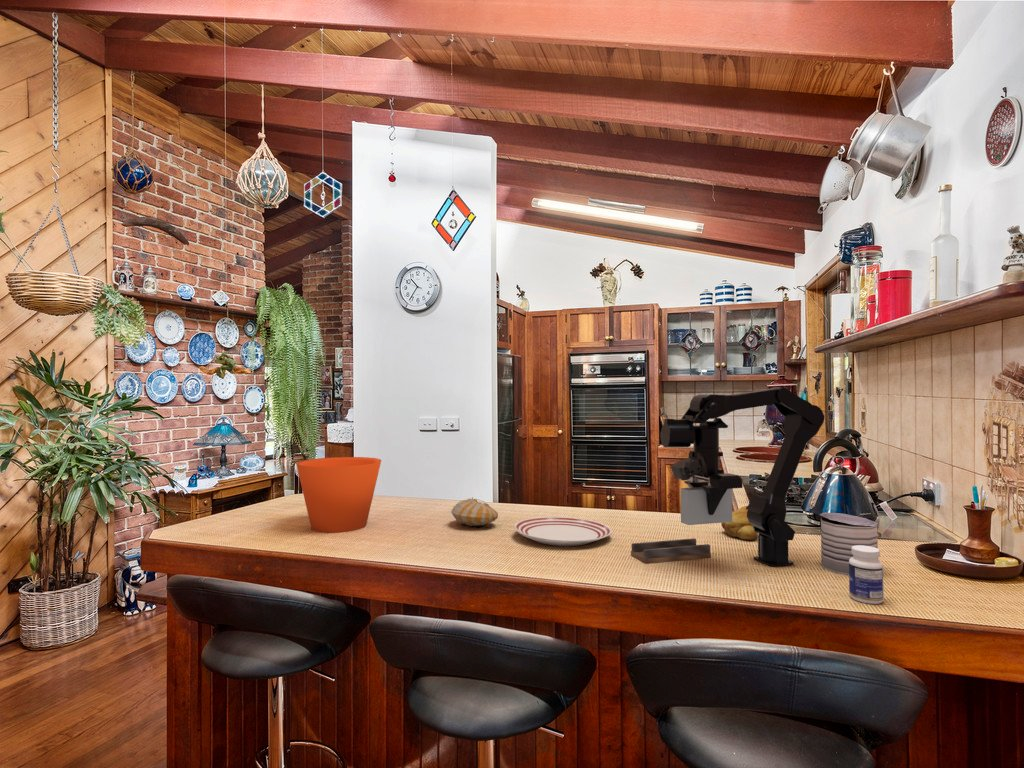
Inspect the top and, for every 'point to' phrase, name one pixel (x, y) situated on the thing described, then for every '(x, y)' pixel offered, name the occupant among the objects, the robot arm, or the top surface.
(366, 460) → the flowerpot
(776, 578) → the top surface
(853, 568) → the pill bottle
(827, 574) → the top surface
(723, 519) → the door panel
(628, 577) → the top surface
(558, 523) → the dinner plate
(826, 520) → the can
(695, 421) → the robot arm
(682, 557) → the bottom track
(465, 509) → the striped ribbed shell
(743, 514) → the tan lumpy piece
